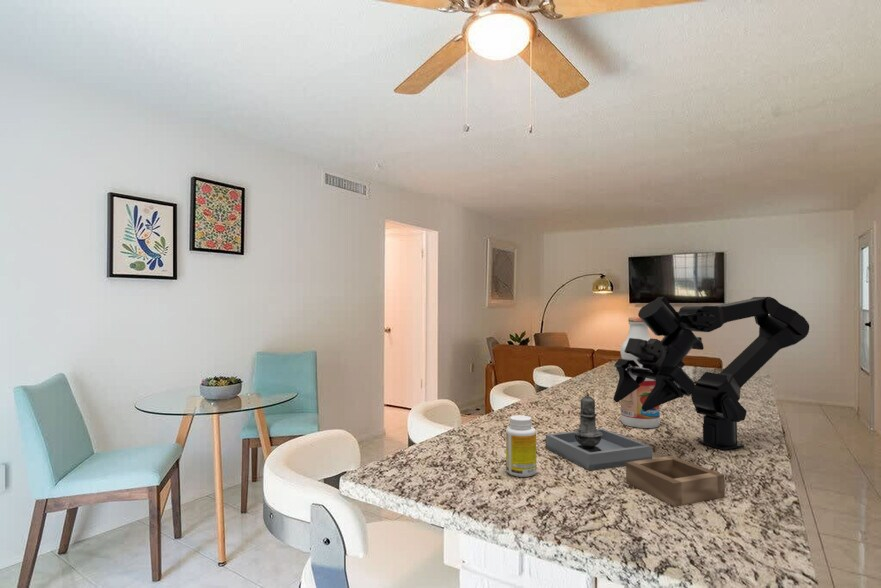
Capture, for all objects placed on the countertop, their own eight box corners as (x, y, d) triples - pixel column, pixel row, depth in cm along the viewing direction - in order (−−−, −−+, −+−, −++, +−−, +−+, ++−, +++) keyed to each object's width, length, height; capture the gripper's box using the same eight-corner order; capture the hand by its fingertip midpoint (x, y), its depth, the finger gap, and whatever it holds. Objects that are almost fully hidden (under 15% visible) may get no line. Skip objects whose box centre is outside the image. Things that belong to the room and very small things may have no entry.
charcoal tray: (602, 441, 107) (602, 428, 107) (652, 461, 93) (652, 446, 93) (545, 448, 102) (545, 434, 102) (589, 470, 88) (589, 454, 88)
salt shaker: (593, 456, 93) (593, 395, 94) (567, 449, 98) (567, 391, 98) (608, 450, 97) (607, 392, 98) (582, 444, 102) (582, 388, 102)
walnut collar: (672, 475, 86) (672, 455, 86) (724, 496, 76) (724, 474, 76) (626, 482, 82) (625, 462, 82) (674, 506, 72) (673, 483, 72)
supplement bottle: (542, 475, 86) (542, 419, 86) (517, 480, 84) (517, 422, 84) (524, 466, 91) (524, 413, 91) (500, 470, 89) (499, 416, 89)
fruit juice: (629, 418, 129) (627, 317, 130) (665, 424, 123) (663, 317, 124) (614, 424, 123) (613, 317, 124) (652, 431, 116) (649, 318, 117)
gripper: (620, 323, 109) (579, 373, 106) (681, 326, 91) (633, 386, 88) (650, 356, 111) (610, 406, 108) (715, 365, 93) (669, 425, 90)
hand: (628, 405), depth 98 cm, fingers open, 9 cm apart
